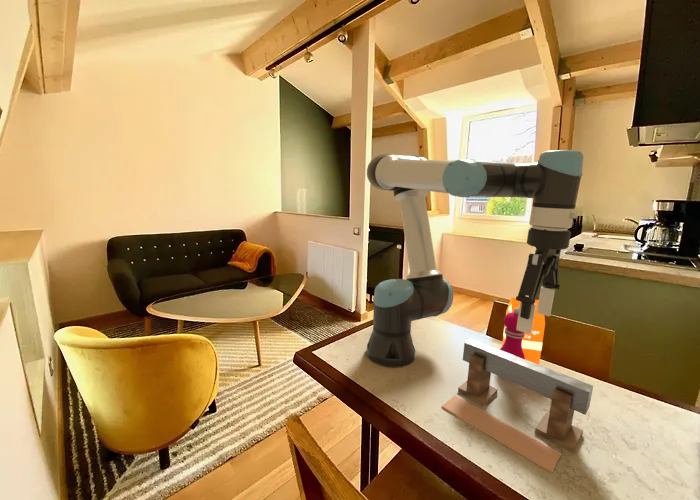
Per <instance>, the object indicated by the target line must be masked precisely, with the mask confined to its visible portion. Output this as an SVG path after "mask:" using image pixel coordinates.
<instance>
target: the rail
mask: <svg viewBox="0 0 700 500" xmlns="http://www.w3.org/2000/svg"><path fill="white" fill-rule="evenodd" d="M462 353H463V354H462V355H463V356H462V361H464V362H466V363H468V364H469V360H470V355H471V354H474V355H476V356H478V357H481V358H483V359H484V364H483V369H484V370H486V371H488V372H491V374H493V375H495V376H498V377H499V378H502V379H504V380H506V381H509V382H511V383H513V384H515V385H518V386H520V387H522V388H525V389H526V390H528V391H531V392H534V393H535V394H537V395H540V396H543V397H545V398H546V399H549V400H551V401H552V395H553V391H554V389H557V390H559V391H561V392H564V393H566V394H569V395H571V396H572V399H571V405H570V408H571V409H573V410H574V412H575V411H576V412H577V413H580V414H582V415H586V414H587V412H588V411H589V409H590V407H591V400H592V394H593V389H594V385H593V384H591V383H590V384H589V383H587V382H584V381H581V380H580V379H577V378H574V377H572V376H569V375H567V374H563V373H561V372H558V371H556V370H553V369H551V368H548V367H545V366H543V365H540V364H539V365H538V364H535V363H533V362H530V361H528V360H525V359H522V358H520V357H517V356H515V355H512V354H509V353H507V352H504V351H502V350H500V349H499V348H497V347H494V346H492V345H489V344H485V343H483V342H480V341H479V340H476V339H473V338H469V339H467V340H466V341H464V344H463V352H462Z"/></svg>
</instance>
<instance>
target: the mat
mask: <svg viewBox="0 0 700 500" xmlns="http://www.w3.org/2000/svg"><path fill="white" fill-rule="evenodd" d="M441 408H442V409H444V410H446V411H447V412H449V413H450V414H452V415H454V416H456V417H457V418H458V419H460V420H462V421H464V422H466V423H467V424H469V425H470V426H472V427H473V428H476V430H478V431H480V432H483V434H486V435H487V436H488V437H490V438H492V439H494V440H496V441H497V442H499V443H500V444H502V445H504V446H505V447H507V448H509V450H512V451H513V452H515V453H518V454H519V455H520V456H522V457H524V458H525V459H527V460H529V461H530V462H532V463H534V464H535V465H537V466H539V467H540V468H542V469H544V470H545V471H547V472H549V473H550V474H552V473H553V471H554V469H555V467H556V465H557V464H558V462H559V460H560V458H561V455H562V453H561V452H559V451H557V450H555V449H554V448H552V447H550V446H548V445H546V444H544V442H541V441H539V440H538V439H535V438H534V437H532V436H530V435H528V434H526V433H525V432H523V431H522V430H520V429H517V428H515V427H514V426H512V425H510V424H508V423H507V422H504V421H503V420H502V419H499V418H498V417H496V416H494V415H493V414H491V413H488V412H487V411H485V410H483V409H481V408H479V407H477V406H476V405H473V404H472V403H470V402H468V401H466V400H465V399H463V398H461V397H459V396H457V395H453V396H452V397H451V398H449V400H447V401H446V402H444V403H443V404H442V405H441Z"/></svg>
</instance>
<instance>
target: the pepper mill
mask: <svg viewBox="0 0 700 500" xmlns="http://www.w3.org/2000/svg"><path fill="white" fill-rule="evenodd" d="M518 314H519V308H515V309H514V312H511V313H508V314H507V315H506V314H505V316H504V318H503V324H504V326H506V328H505V331H504V330H503V333H505V334H506V339H505V342H504V344H503V346H502V345H501V347H500V349H499V350H502V351H504V352H507V353H509V354H512V355H515V356H517V357H520V358H522V359H525V356H524V353H523V350H522V339H523V338H524V337H525V333H524V332H521V331H518V330H516V328H517V321H518Z"/></svg>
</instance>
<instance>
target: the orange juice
mask: <svg viewBox="0 0 700 500" xmlns="http://www.w3.org/2000/svg"><path fill="white" fill-rule="evenodd" d="M538 302H539V299H536V300H535V304H536V309H535V315H534V321H533V327H532V333H531V334H527V333H525V337H524V338H523V339H522V350H523V353H524V356H525V360H528V361H530V362H533V363H535V364H538V365H540V361H541V355H542V350H543V339H544V335H545V334H544V333H545V327H546V320H545V319H546V317H545V316H546V315H542V314H539V313H537V308H538ZM515 308H520V301H517V300H516V297H511V298H510V301H509V304H508V306H507V309H506V310H505V311H506V312H505V316H506V315H507V314H508V313H511V312H514V309H515ZM505 328H506V326H505V325H504V327H503V334H502V344H501V347H502V346H503V344H504V342H505V339H506V334H505V333H504V331H505Z"/></svg>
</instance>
